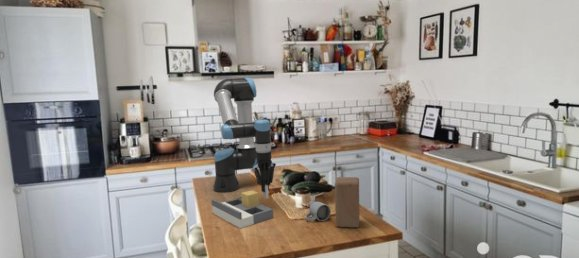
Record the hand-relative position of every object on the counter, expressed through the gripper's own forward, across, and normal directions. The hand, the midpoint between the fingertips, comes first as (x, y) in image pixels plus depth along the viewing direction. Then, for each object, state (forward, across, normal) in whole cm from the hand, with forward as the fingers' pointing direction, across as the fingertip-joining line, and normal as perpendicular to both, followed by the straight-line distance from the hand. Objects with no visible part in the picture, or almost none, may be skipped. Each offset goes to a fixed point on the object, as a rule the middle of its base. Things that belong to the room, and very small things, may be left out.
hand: (265, 197), depth 192 cm
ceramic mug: (+6, +8, -29) cm, 30 cm away
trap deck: (+5, -14, 0) cm, 15 cm away
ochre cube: (+1, -9, 0) cm, 9 cm away
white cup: (+6, +18, -11) cm, 22 cm away
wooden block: (+6, +14, -42) cm, 45 cm away
